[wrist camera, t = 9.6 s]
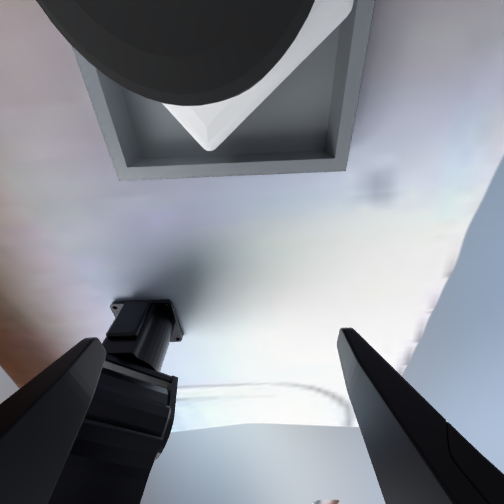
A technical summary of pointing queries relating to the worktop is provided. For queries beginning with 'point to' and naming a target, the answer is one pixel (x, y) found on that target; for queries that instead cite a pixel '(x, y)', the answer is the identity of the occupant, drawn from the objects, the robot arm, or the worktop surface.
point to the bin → (254, 126)
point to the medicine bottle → (198, 51)
